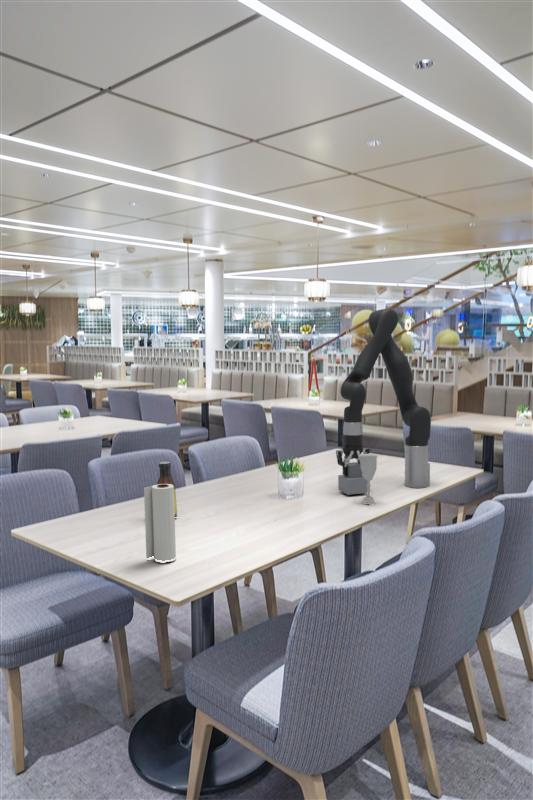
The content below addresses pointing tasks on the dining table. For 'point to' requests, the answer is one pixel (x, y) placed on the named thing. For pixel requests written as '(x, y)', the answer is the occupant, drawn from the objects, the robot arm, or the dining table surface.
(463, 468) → the dining table surface
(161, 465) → the sauce bottle
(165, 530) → the paper towel roll
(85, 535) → the dining table surface
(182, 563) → the dining table surface
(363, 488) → the grey stepped block
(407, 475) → the robot arm
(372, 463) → the chalice
